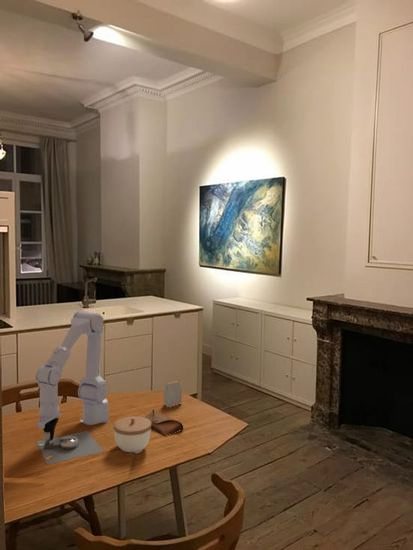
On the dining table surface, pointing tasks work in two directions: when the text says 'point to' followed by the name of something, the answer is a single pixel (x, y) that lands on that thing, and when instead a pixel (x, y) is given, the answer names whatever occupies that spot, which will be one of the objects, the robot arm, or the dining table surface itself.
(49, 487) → the dining table surface
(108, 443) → the dining table surface
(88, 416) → the robot arm
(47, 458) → the grey square mat
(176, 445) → the dining table surface
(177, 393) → the blue-gray rectangular block
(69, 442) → the grey piece
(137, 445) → the lidded bowl
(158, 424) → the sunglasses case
